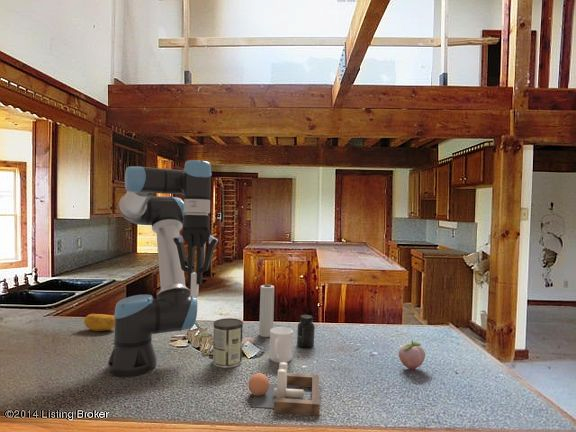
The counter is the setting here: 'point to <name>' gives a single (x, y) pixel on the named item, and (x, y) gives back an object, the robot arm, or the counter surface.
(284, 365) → the pin
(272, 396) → the pin deck mark
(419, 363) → the decorative fruit
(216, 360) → the coffee can
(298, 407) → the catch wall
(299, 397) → the front pin
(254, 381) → the ball
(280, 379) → the pin
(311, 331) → the supplement bottle
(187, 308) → the robot arm
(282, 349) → the mug
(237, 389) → the counter surface
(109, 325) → the potato
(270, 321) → the paper towel roll
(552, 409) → the counter surface
